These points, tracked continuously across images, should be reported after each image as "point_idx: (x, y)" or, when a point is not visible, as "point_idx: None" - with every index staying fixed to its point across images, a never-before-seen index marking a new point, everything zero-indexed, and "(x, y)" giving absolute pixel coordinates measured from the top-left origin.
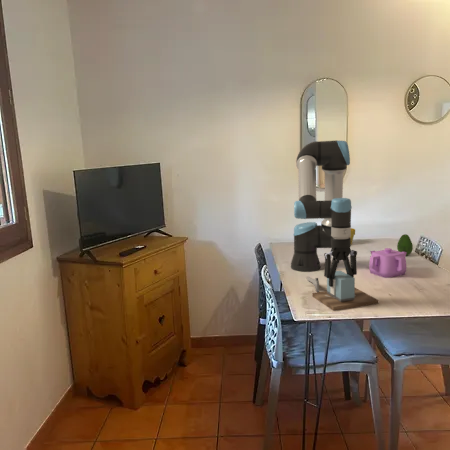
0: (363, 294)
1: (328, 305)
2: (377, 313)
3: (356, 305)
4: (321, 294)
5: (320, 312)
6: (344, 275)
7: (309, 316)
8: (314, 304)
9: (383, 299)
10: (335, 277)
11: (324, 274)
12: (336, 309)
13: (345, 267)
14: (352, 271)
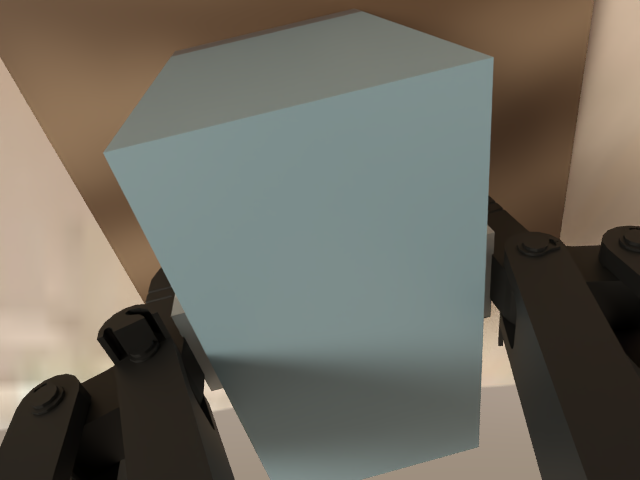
0: (537, 137)
1: None
2: None
3: None
4: (98, 68)
5: (85, 368)
6: (406, 368)
7: (3, 418)
8: (29, 231)
9: (630, 176)
10: (238, 405)
11: (14, 433)
12: None
13: (547, 392)
14: (623, 295)
